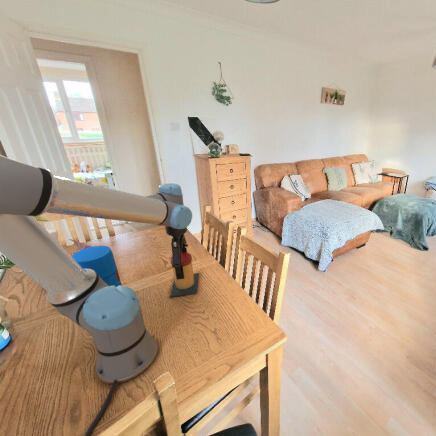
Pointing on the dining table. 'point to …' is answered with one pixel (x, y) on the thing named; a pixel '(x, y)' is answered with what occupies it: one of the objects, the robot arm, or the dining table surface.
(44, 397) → the dining table surface
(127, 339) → the robot arm
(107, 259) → the thermos
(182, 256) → the jam lid
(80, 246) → the lily
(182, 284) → the jam jar
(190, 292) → the mat
